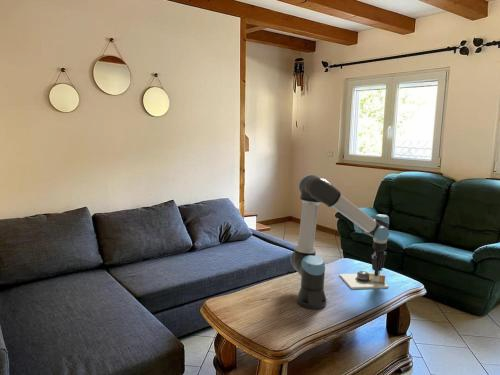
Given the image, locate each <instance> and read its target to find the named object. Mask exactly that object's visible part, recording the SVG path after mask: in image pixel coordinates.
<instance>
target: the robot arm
mask: <svg viewBox="0 0 500 375" xmlns="http://www.w3.org/2000/svg"><path fill="white" fill-rule="evenodd" d="M298 189H299V191H300V199H299V200H300V201H301V202H302V206H301V213H300V214H301V216H300V222H299V223H300V224H299V231H298V240H297V245H296V246H294V250H293V252H291V255H290V264H291V265H292V268H293V270H295V271H296V272H297V273H298V275H300V289H299V291H298V294H297V296H296V303H297V304H298V305H299V306H300V307H302V308H305V309H308V310H320V309H324V308H325V307H326V306H327V296H326V293H325V289H324V288H325V273H326V271H325V270H326V263H325V261H324V259H322V258H321V257H320V256H317V255H316V253H317V250H316V248H315V237H316V230H317V222H318V214H319V213H318V212H319V206H320V204H324V205H325V206H327V207H328V208H333V209H334V210H336V211H337V212H338V213H339V214H341V215H342V216H343V217H345V218H347V219H348V220H349V221H351V222H352V223H353V228H354V231H355V232H356V233H359V234H360V233H361V234H362V233H365V234H366V235H368V236H370V237H372V239H373V240H372V241H373V242H372V248H373V249H374V250H373V253H372V254H371V255H370V258H371V268H372V270H373V271H374V272H373V273H374V281H377V282H379V279H380V274H381V272H382V271H383V269H384V265H385V260H386V256H387V255H388V252H387V251H385V250H387V247H388V243H387V242H388V239H389V236H390V231H389V227H390V217H389V216H388V215H387V214H382V213H381V214H380V213H378V214H376V215H375V216H374V218H373V217H371V216H370V215H369V214H368V213H366V212H364V211H363V210H362V209H360V208H359V207H358V206H356V204H354V203H352V202H351V201H350V200H348V199H347V198H346V197H345V196H344V195H342V192H341V191H340V190H339V189H338V188H336V186H334V185H333V184H332V183H330V181H328V180H327V179H326V178H323V177H320V176H318V175H315V174H307V175H304V176H303V177H302V178H301V179H300V181H299V184H298Z"/></svg>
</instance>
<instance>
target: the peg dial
mask: <svg viewBox="0 0 500 375" xmlns="http://www.w3.org/2000/svg"><path fill="white" fill-rule="evenodd" d="M374 273H375V272H368V271H365V270H360V271H357V273H356V274H357V279H358V280H360V281H374ZM375 282H377V281H375ZM379 282H381V283H385V282H386V274H382V273H380V279H379Z"/></svg>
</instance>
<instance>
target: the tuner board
mask: <svg viewBox="0 0 500 375" xmlns="http://www.w3.org/2000/svg"><path fill="white" fill-rule="evenodd" d="M338 275H339V277H340V278H341V280H342V281H343V282H344V283H345V284H346V285H347V286H348V288H350V290H365V289H366V290H368V289H369V290H370V289H373V290H374V289H389V287H390V286H389V285H388V284H387V282H386V281H385V283H381V282H375V281H360V280H358V279H357V273H339V274H338Z"/></svg>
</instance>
